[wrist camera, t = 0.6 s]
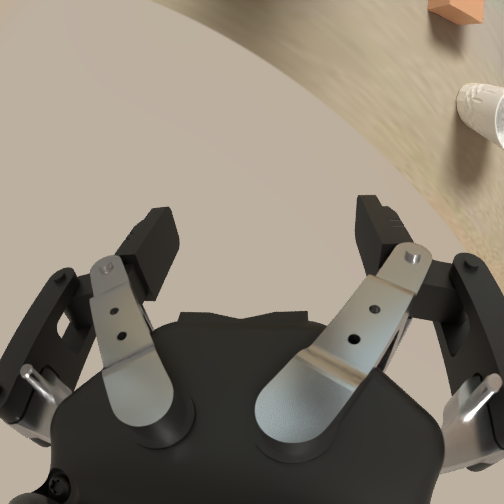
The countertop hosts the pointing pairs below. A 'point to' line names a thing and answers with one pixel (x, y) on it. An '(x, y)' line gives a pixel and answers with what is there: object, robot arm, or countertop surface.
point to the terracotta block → (458, 10)
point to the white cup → (483, 110)
